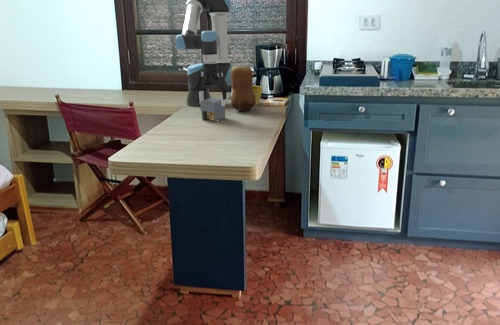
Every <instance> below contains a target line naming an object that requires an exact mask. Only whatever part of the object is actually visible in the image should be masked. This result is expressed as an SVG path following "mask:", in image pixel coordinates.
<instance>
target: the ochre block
mask: <svg viewBox="0 0 500 325" xmlns="http://www.w3.org/2000/svg"><path fill="white" fill-rule="evenodd" d="M207 119H213V120H215V112H207ZM207 119H206V120H207ZM213 120H212V121H213Z"/></svg>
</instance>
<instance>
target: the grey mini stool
mask: <svg viewBox="0 0 500 325" xmlns="http://www.w3.org/2000/svg"><path fill="white" fill-rule="evenodd" d="M199 107H200V111H201V120H202V119H205V118H207V112H215V121H217V120H220V119H222V120H224V119H223V118H225V119H226V105H225V106H221V98H215V97H211V98H209V99H205V100H202V101H200V106H199ZM205 120H206V119H205ZM215 121H214V122H215ZM220 121H221V120H220ZM217 122H218V121H217Z"/></svg>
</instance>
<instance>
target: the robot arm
mask: <svg viewBox="0 0 500 325" xmlns="http://www.w3.org/2000/svg"><path fill="white" fill-rule="evenodd" d="M232 9H233V8H232V0H186V2H185V10H186V12H185V16H184V22H183V26H182V31H181V34H177V35H176V36H175V45H176V49H178V50H184V51H185V50H186V51H187V50H188V51H189V50H202V53H201V54H202V63H195V64H192V65H188V67H187V74H186V75H187V83H188V94H187V97H186V105H187V106H190V107H200V101H202V100H205V99H209V98H212V97H211V94H210V91H209V87H218V89H219V90H220V92H221V93H220V99H221V106H225V107H226V100H227V93H229V92H230V88H229V86H230V85H232V84H231V69H232V67H234V65H232V63H231V61H230V60H229V56H228V55H229V53H228V52H229V50H228V47H229V46H228V23H227V22H228V21H227V20H228V19H227V16H228V15H229V14H230V11H232ZM204 11H206V12H207V11H208V14H209V16H211V30H203V31H201V33H199V34H198V27H199V22H200V15H201V14H202V12H204Z"/></svg>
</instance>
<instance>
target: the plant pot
mask: <svg viewBox="0 0 500 325" xmlns="http://www.w3.org/2000/svg"><path fill="white" fill-rule="evenodd" d="M252 88H253V92H254V95H255V99H256V103H255V105H254V106H258V105H260V101H261V97H262V94H263V86H260V85H252Z"/></svg>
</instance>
